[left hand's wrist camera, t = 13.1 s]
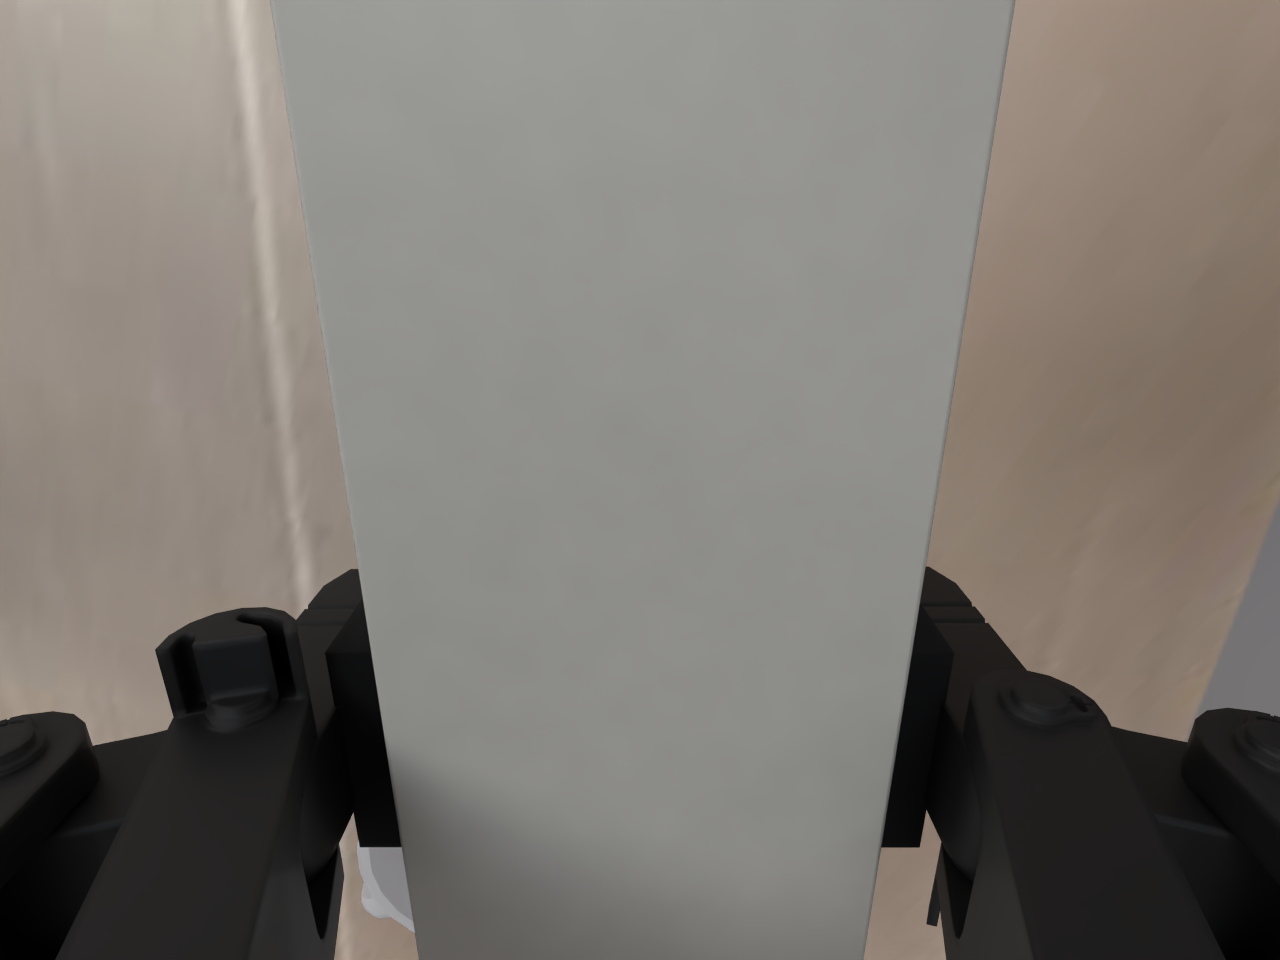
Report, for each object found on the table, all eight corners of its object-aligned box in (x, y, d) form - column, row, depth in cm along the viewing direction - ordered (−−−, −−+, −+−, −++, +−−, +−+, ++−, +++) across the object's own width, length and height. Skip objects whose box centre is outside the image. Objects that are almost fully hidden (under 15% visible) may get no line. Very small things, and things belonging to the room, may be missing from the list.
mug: (540, 572, 34) (497, 721, 24) (654, 704, 36) (656, 886, 27) (365, 689, 36) (263, 867, 27) (483, 804, 39) (428, 1005, 29)
